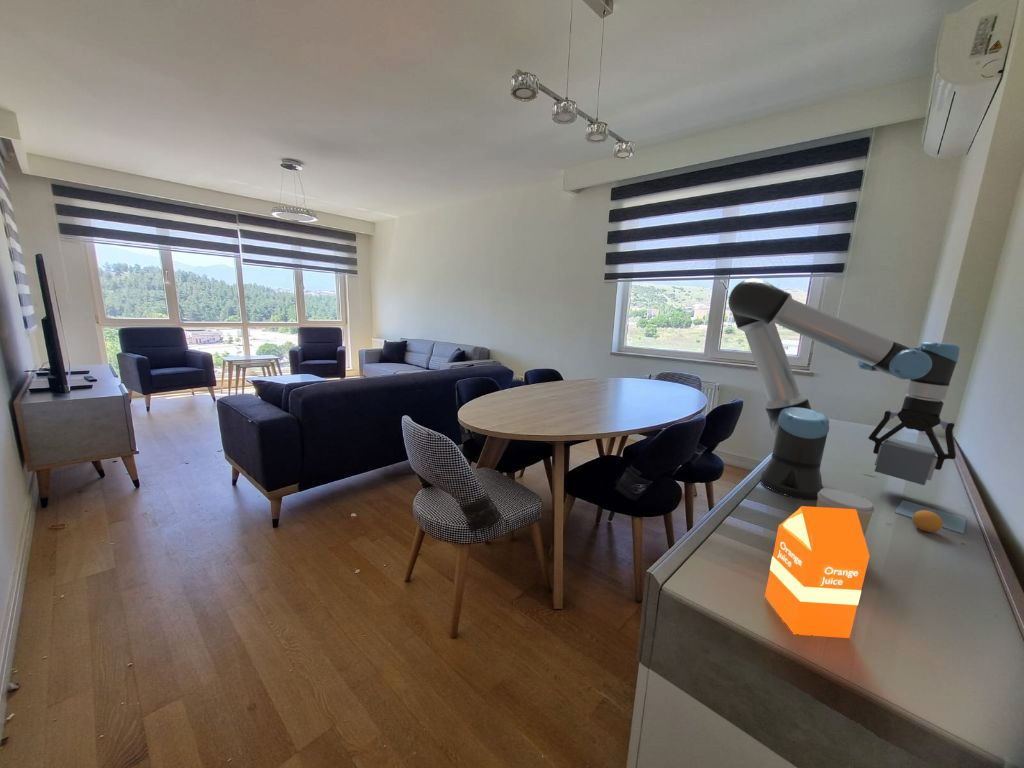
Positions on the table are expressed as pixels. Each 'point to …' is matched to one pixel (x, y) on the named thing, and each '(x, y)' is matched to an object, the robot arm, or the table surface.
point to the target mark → (948, 519)
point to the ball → (927, 521)
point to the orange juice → (818, 571)
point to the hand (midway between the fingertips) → (902, 471)
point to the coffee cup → (847, 504)
